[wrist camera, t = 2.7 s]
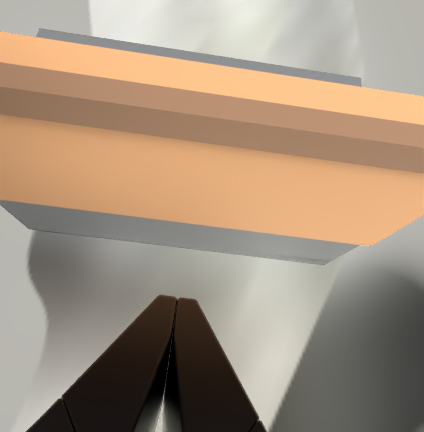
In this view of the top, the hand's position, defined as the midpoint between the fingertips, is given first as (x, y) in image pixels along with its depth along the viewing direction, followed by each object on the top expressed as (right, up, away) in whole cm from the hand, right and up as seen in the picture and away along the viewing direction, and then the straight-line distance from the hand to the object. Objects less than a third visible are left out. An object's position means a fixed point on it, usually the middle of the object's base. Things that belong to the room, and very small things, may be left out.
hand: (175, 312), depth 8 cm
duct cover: (0, +4, +4) cm, 5 cm away
